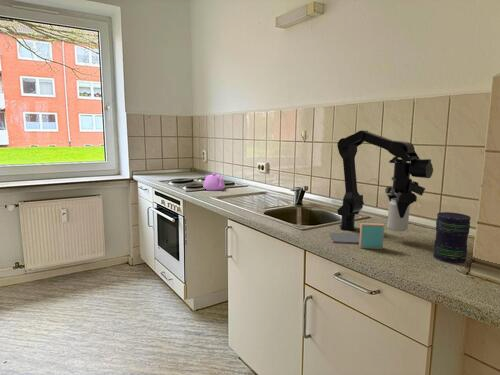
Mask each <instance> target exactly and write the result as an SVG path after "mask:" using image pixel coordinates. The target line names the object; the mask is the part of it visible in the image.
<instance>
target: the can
mask: <svg viewBox="0 0 500 375" xmlns="http://www.w3.org/2000/svg"><path fill="white" fill-rule="evenodd" d="M395 200H397V199H396V198H393V199H391V201H389V202H388V210H387V211H388V212H387V213H388V214H387V223H386V224H387V225H386V226H387V228H388V229H389V230H391V231H393V232H406V230H408V229H409V219H410V218H409V217H410V208H411V204H410V205H409V206H408V208H407V210H406V212H405V215H404V217H403V218H400V216H399V212H398V209H397V205H396V201H395Z"/></svg>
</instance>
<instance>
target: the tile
mask: <svg viewBox="0 0 500 375" xmlns="http://www.w3.org/2000/svg"><path fill="white" fill-rule="evenodd" d="M359 234H360V240H359V244H358V247H359V248H360V249H368V250H369V249H371V250H372V249H373V250H383V249H384V235H385V224H384V223H375V222H373V223H372V222H371V223H370V222H367V223H365V222H360V227H359Z"/></svg>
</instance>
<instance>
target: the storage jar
mask: <svg viewBox="0 0 500 375" xmlns="http://www.w3.org/2000/svg"><path fill="white" fill-rule="evenodd" d="M436 214H437V215H436V216H437V217H436V222H435V230H436V231H435V232H436V234H435V240H434V244H433V255H432V256H433V258H434V259H435V260H437V261H439V262H442V263H448V264H452V265H453V264H455V265H460V264H465V263H466V260H467V255H468V236H469V233H470V228H471V216H470V215H466V214H463V213H458V212H450V211H449V212H448V211H445V212H444V211H443V212H442V211H441V212H437V213H436Z"/></svg>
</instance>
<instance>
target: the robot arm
mask: <svg viewBox="0 0 500 375" xmlns="http://www.w3.org/2000/svg"><path fill="white" fill-rule="evenodd" d="M364 143H367V144H370V145H373V146H376V147H378V148H381V149H383V150H385V151H387V152H388V153H389V154H390V155H392V156H393V157H392V159H389V161H388V163H390V164H394V165H393V166H394V168H393V176H392V177H391V181H392V185H389V186H387V187H386V188H385V194H386V196H387V198H388V201H389V202H390V201H391V199H393V198H396V199H397V200H395V201H396V205H397V209H398V212H399V216H400V218H403V217H404V215H405V212H406V210H407V208H408V206H409V205H410V206H411V204H414V203H415V202H417V199H418V196H421V197H422V196H423V195H424V193H425V190H426V187H423V186H421V185H420V184H419V182H417V181H414V180H412V178H410V177H415V178H421V179H422V178H423V179H430V178H431V177H432V176H433V173H434V168H433V167H434V166H433V163H432V159H431V158H429V159H428V158H427V159H421V158H420V157H419V155H418V153H417V152H416V150H415V146H414V144H413V143H411V142H407V141H401V140H394V139H390V138H388V137H385V136H381V135H380V134H379V135H378V134H376V133H372V132H370V131H368V130H358V131H356V132H355V133H353V134H350V135H348V136H346V137H342V138H340V139H339V140H338V141H337V145H336V146H337V150H338V154H339V156H340V157H341V159H342V164H343V176H344V184H345V185H344V186H345V193H344V196H343V199H342V205H341V206H340V207H339V208H338V209H337V210H336V211H337V216H341V217H340V219H341V220H340V224H339V225H338V227H339V228H340V230H345V231H348V230H349V231H356V230H357V228H356V227H355V223H356V222H355V220H356V219H355V218H356V215H359V214H360V211H361V210H362V209H363V207H364V205H365V202H364V196H363V194H360V193H359V192H358V184H357V174H356V173H357V172H356V161H355V160H356V159H355V158H356V155H357V153H358V147H359V146H361V145H363V144H364ZM416 194H417V195H418V196H417V195H416Z"/></svg>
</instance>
